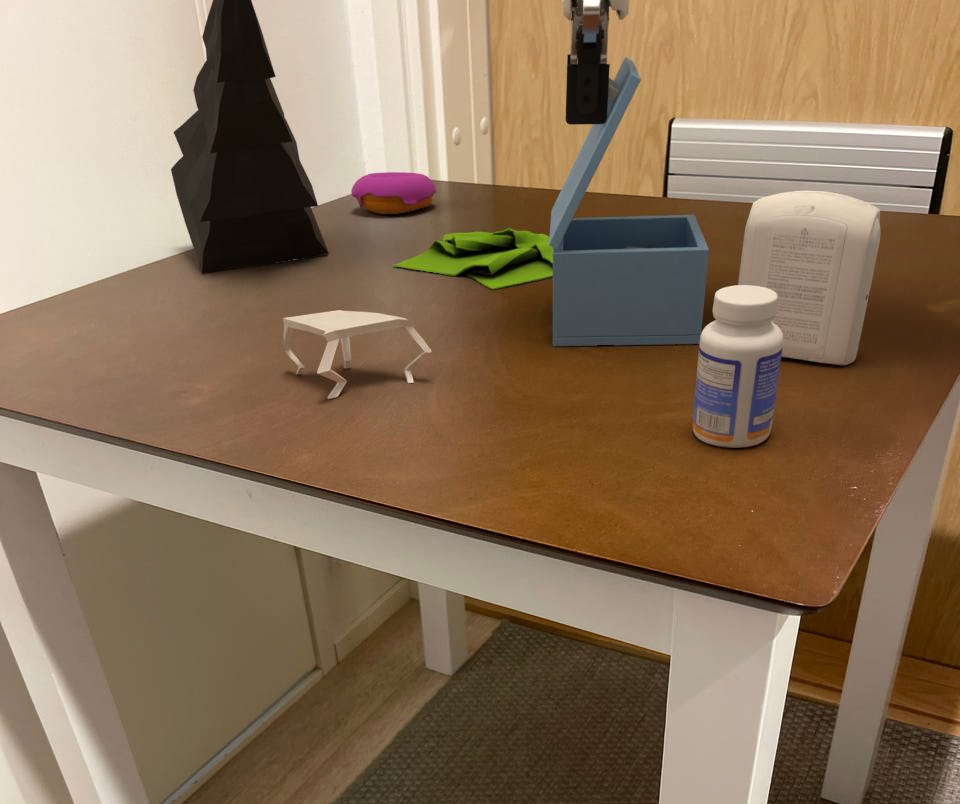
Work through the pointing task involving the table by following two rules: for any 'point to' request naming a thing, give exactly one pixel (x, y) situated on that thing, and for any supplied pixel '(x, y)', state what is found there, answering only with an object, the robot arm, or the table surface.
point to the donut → (393, 192)
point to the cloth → (489, 257)
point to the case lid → (593, 151)
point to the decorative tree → (242, 155)
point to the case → (629, 281)
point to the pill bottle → (738, 368)
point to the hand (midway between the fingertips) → (585, 114)
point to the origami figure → (346, 337)
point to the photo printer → (814, 269)
